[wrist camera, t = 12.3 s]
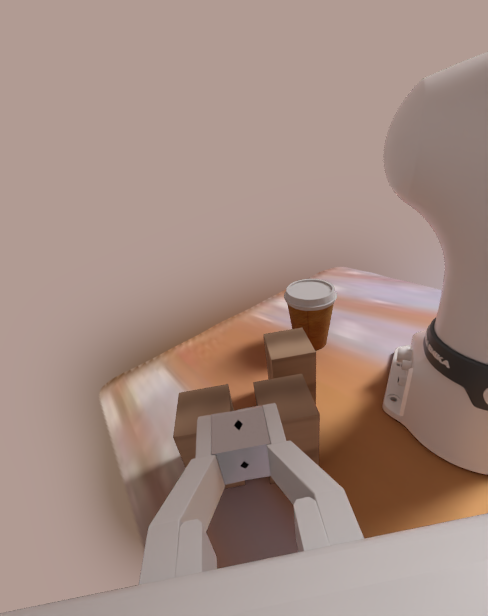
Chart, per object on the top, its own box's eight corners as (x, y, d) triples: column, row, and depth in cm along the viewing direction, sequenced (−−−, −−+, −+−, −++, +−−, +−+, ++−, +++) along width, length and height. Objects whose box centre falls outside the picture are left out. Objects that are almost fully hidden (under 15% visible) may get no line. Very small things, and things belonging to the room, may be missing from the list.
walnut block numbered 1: (318, 474, 33) (319, 414, 28) (270, 483, 33) (261, 424, 27) (303, 429, 38) (301, 372, 33) (261, 437, 38) (252, 380, 33)
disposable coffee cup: (303, 323, 61) (302, 274, 55) (343, 337, 55) (347, 284, 49) (277, 344, 56) (273, 293, 50) (318, 362, 50) (319, 306, 44)
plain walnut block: (245, 484, 33) (231, 426, 28) (196, 494, 33) (173, 437, 27) (240, 440, 38) (228, 384, 33) (198, 448, 38) (179, 393, 33)
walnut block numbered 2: (315, 408, 41) (315, 351, 36) (277, 415, 41) (271, 359, 36) (303, 379, 47) (301, 326, 41) (269, 385, 46) (263, 333, 41)
